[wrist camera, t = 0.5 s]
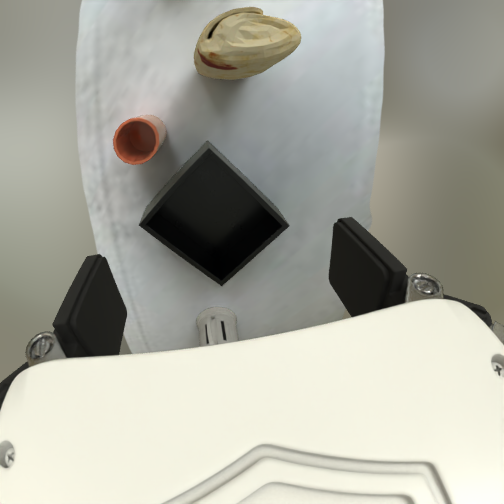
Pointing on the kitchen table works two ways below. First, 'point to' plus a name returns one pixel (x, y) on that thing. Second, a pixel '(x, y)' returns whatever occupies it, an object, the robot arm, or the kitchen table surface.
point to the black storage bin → (213, 216)
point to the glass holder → (217, 326)
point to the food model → (243, 44)
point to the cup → (139, 139)
